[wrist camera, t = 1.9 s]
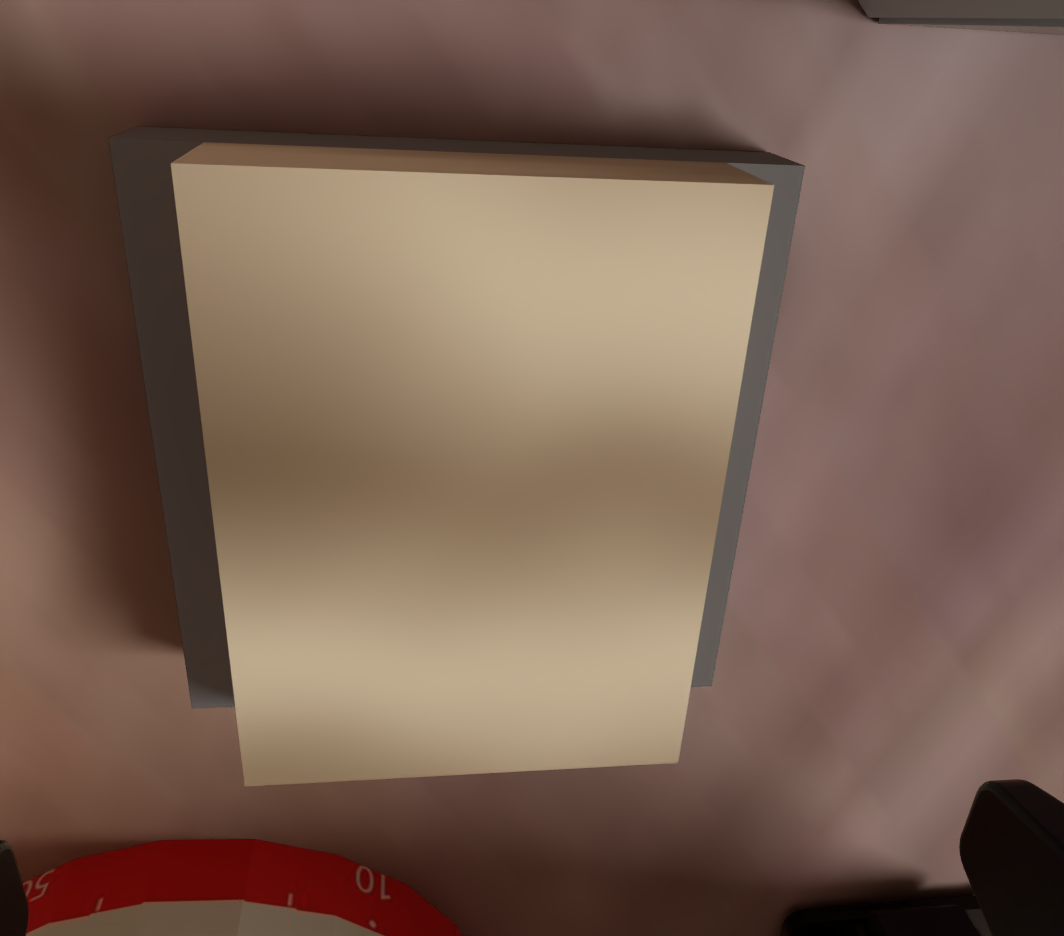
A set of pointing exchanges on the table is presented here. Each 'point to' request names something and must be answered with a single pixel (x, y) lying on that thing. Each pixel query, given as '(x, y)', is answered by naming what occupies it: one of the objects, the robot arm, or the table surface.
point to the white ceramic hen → (225, 894)
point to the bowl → (972, 14)
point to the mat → (174, 384)
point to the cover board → (463, 446)
